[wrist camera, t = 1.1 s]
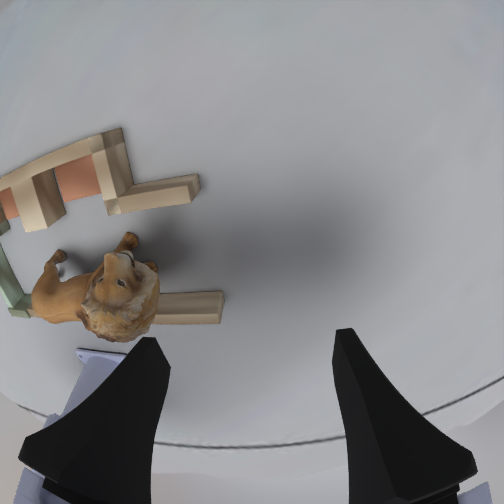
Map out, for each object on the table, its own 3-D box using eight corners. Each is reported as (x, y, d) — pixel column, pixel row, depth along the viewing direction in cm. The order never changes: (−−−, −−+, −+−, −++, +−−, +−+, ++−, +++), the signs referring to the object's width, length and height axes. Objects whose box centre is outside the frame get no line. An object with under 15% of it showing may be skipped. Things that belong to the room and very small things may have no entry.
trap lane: (224, 301, 21) (219, 326, 19) (24, 300, 24) (12, 315, 21) (186, 111, 14) (172, 113, 12) (-23, 192, 17) (-40, 203, 14)
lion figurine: (168, 196, 17) (100, 277, 10) (201, 262, 20) (167, 364, 12) (44, 255, 20) (-13, 317, 13) (73, 299, 23) (28, 367, 15)
